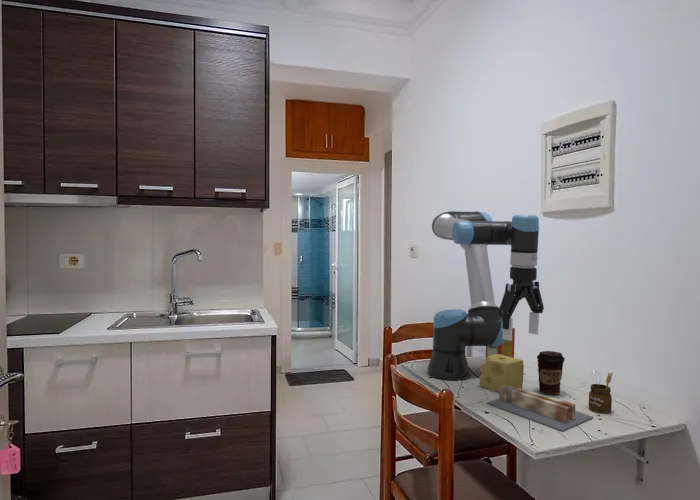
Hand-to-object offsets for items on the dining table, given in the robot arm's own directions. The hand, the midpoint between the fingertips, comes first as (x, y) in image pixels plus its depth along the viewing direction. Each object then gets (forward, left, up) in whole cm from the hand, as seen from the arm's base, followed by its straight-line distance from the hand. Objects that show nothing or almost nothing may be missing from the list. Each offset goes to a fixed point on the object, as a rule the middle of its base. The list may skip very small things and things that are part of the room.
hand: (520, 336), depth 138 cm
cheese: (-13, +9, -21) cm, 26 cm away
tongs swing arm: (+8, +1, -20) cm, 22 cm away
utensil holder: (+16, +16, -21) cm, 31 cm away
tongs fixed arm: (+6, -1, -20) cm, 21 cm away
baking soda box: (-30, +31, -21) cm, 47 cm away
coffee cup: (-1, +18, -21) cm, 27 cm away
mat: (+6, 0, -21) cm, 22 cm away
